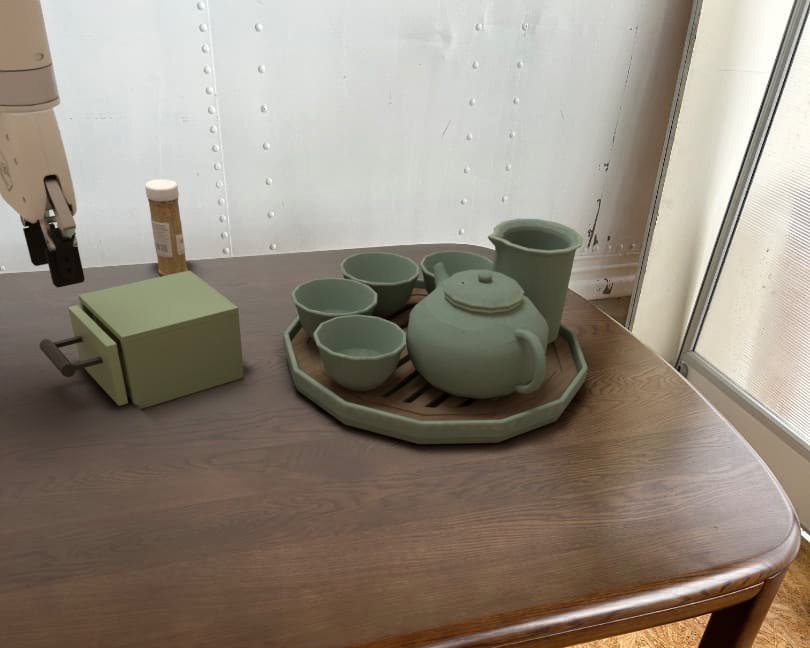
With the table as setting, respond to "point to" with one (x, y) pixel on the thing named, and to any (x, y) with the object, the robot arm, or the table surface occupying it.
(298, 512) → the table surface
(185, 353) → the cabinet
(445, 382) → the tea set
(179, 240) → the sprinkles bottle
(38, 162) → the robot arm
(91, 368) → the drawer
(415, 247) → the table surface
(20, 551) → the table surface
